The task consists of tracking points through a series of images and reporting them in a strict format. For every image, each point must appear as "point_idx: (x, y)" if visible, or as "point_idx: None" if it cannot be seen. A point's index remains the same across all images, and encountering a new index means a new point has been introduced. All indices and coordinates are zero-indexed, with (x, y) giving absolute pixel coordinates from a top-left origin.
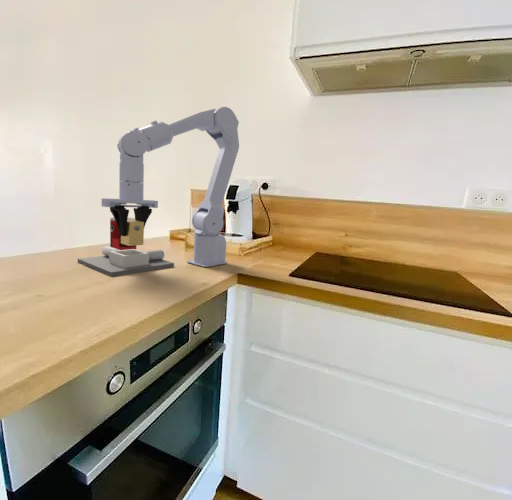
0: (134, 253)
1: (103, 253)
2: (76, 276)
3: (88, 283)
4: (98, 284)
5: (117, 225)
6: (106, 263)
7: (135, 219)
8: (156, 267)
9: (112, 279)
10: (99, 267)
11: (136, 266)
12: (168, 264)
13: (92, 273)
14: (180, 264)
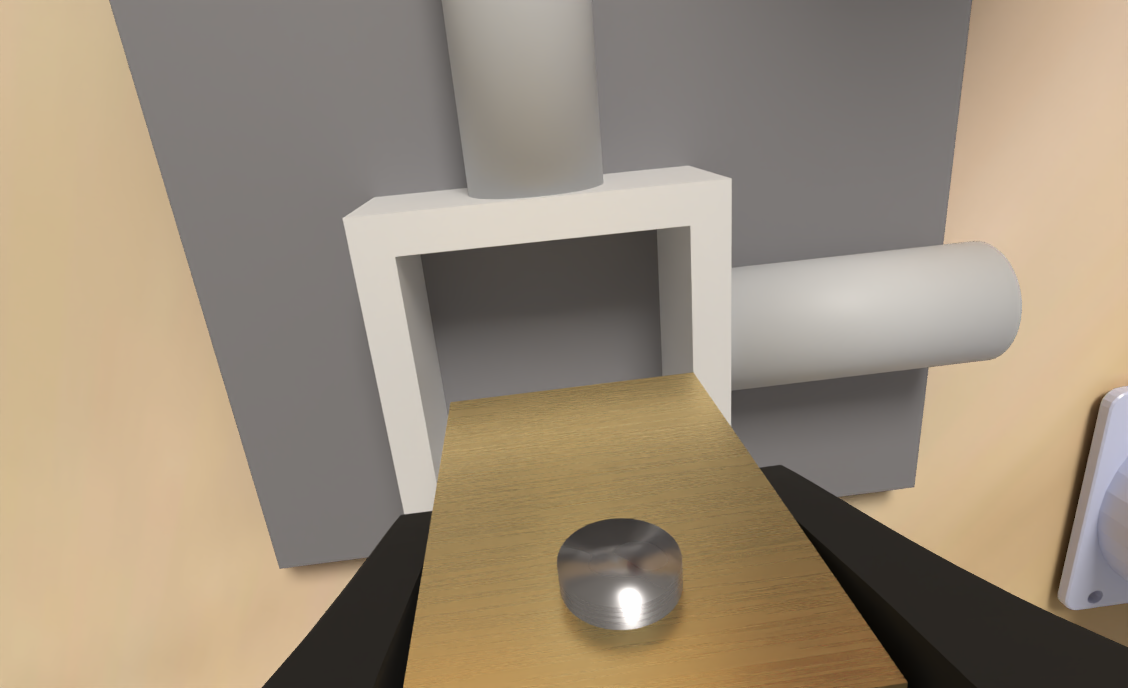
0: (679, 247)
1: None
2: (22, 434)
3: (97, 639)
4: (160, 681)
5: (303, 653)
6: (332, 235)
7: (945, 664)
8: None
9: (279, 614)
10: (223, 375)
11: None
12: (849, 490)
13: (167, 396)
14: (1001, 419)
